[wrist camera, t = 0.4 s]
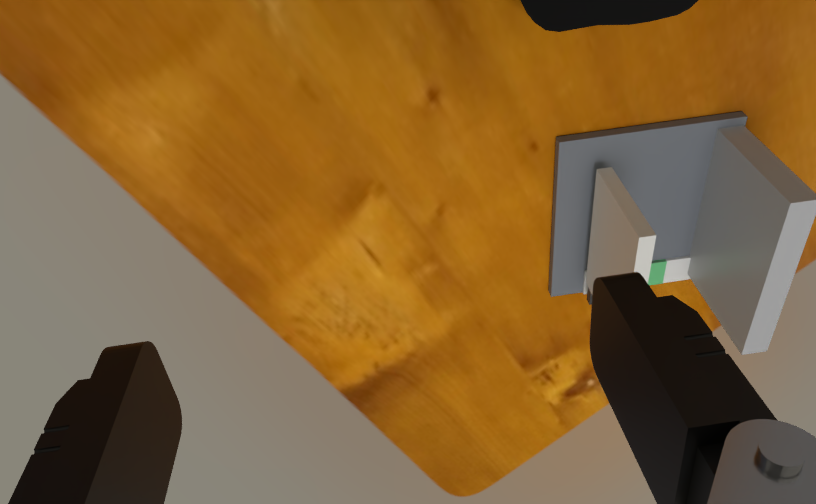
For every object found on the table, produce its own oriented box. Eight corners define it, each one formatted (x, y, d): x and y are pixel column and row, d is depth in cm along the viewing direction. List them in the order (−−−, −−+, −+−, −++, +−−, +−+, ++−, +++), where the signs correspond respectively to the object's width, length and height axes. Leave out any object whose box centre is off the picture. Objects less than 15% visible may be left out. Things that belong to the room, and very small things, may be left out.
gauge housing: (556, 136, 35) (604, 220, 29) (741, 111, 35) (826, 189, 29) (548, 290, 42) (585, 383, 36) (703, 268, 42) (766, 356, 36)
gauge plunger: (596, 169, 35) (639, 237, 30) (611, 167, 35) (656, 235, 30) (584, 298, 41) (618, 372, 36) (596, 297, 41) (632, 370, 36)
